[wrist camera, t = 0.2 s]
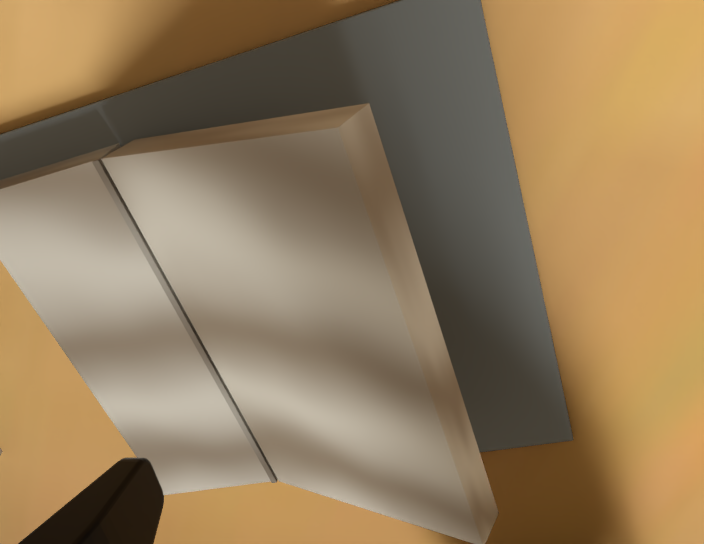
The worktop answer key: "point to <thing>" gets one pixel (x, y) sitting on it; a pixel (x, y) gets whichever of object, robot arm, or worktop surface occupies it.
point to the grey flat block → (124, 324)
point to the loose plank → (314, 309)
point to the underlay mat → (407, 171)
